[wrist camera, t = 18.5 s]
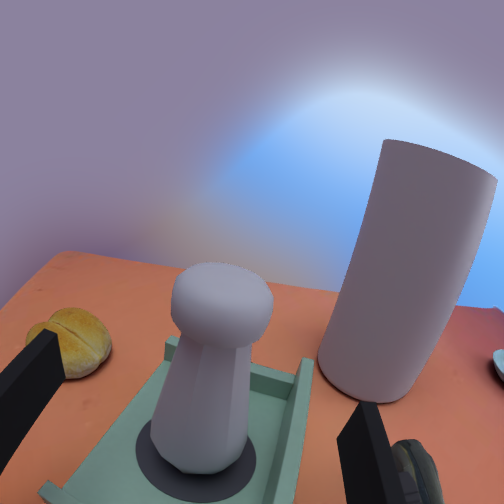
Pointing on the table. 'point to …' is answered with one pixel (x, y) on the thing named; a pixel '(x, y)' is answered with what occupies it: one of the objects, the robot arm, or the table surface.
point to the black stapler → (419, 469)
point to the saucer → (499, 363)
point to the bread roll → (77, 340)
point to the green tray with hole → (198, 485)
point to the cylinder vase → (405, 270)
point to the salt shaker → (210, 367)
